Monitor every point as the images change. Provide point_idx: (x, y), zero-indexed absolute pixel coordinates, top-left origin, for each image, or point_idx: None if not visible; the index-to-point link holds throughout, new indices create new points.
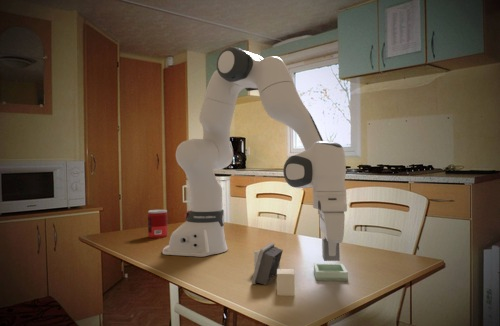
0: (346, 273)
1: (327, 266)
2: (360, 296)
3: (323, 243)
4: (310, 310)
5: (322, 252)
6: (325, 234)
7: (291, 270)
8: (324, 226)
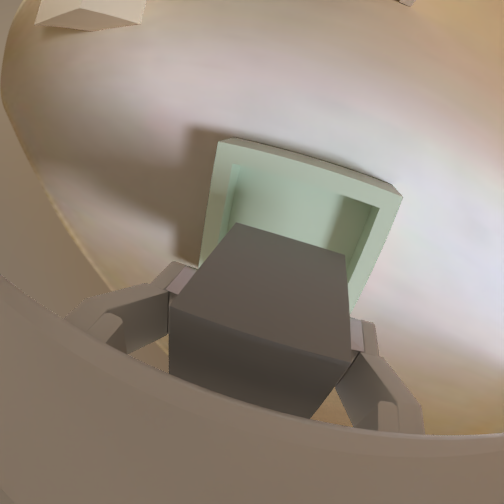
0: None
1: (354, 260)
2: (79, 234)
3: (221, 303)
4: (23, 81)
5: (343, 272)
6: (3, 323)
7: (67, 3)
8: (17, 440)
